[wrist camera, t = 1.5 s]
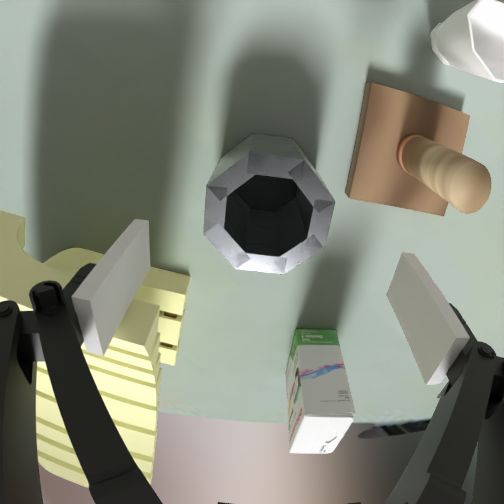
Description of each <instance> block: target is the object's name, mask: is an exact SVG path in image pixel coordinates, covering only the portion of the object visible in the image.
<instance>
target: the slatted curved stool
mask: <svg viewBox="0 0 504 504" xmlns="http://www.w3.org/2000/svg"><path fill="white" fill-rule="evenodd" d="M24 245H25V217H22V216H18V215H15V214H11V213H7V212H4V211H0V302H2V301H6V300H12V301H15V302H16V303H17V304H18V306H19V309H20V311H34V310H33V307H32V304H31V301H30V297H29V292H30V290H31V289H32V287H33V286H35V285H36V284H38V283H40V282H43V281H48V280H51V281H56V282H58V283H60V285H61V286H62V290H63V289H64V287H65V286H66V285H67V284H68V282H70V280H71V279H72V278H73V276H75V274H76V273H77V271H78V270H79V269H80V268H81V267H83V266H85V265H86V264H88V263H94V264H97V263H98V262H99V261H100V260H101V258H102V257H103V256H104V255H105V254H101V253H97V252H94V251H90V250H86V249H83V248H70V249H66V250H64V251H61V252H59V253H57V254H56V255H54V256H52V257H51V258H50V259H48V260H47V261H46V262H44V263H43V264H42V263H41V262H39V261H37V260H36V259H34V258H33V257H31V256H30V255H29V254H27V253H26V252H25V251H24V250H23V247H24ZM189 282H190V276H187V275H183V274H179V273H175V272H171V271H167V270H163V269H159V268H155V267H151V268H150V269H149V271H148V273H147V275H146V276H145V278H144V280H143V282H142V284H141V285H140V287H139V289H138V291H137V293H136V295H135V296H134V298H133V300H132V302H131V304H130V306H129V308H128V310H127V311H126V313H125V315H124V317H123V319H122V321H121V323H120V325H119V327H118V329H117V331H116V333H115V335H114V337H113V338H112V340H111V342H110V344H109V346H108V348H107V350H106V353H105V355H104V356H100V355H96V354H92V353H88V352H87V351H86V348H85V345H84V342H83V344H82V346H81V349H82V352H83V354H84V357H85V359H86V362H87V364H88V367H89V369H90V372H91V374H92V376H93V379H94V381H95V383H96V386H97V388H98V390H99V393H100V395H101V397H102V399H103V401H104V403H105V406H106V408H107V410H108V412H109V414H110V416H111V418H112V420H113V422H114V424H115V426H116V428H117V430H118V432H119V434H120V436H121V437H122V439H123V441H124V443H125V445H126V447H127V449H128V450H129V452H130V454H131V456H132V457H133V459H134V461H135V463H136V464H137V466H138V467H139V468H140V470H141V471H142V473H143V474H144V476H145V477H146V479H147V481H148V482H149V484H150V485H151V480H152V475H153V469H152V468H153V463H154V450H155V445H156V439H157V438H156V437H157V426H156V425H157V421H158V406H159V402H158V399H159V393H160V381H161V369H162V368H160V362H161V363H165V364H169V365H173V366H175V363H176V360H177V354H178V348H179V341H180V340H179V338H180V335H181V329H182V323H183V317H184V308H185V305H186V299H187V293H188V288H189ZM36 437H37V454H38V461H39V463H40V464H41V465H42V466H43V467H44V468H45V469H46V470H48V471H49V472H51V473H53V474H55V475H57V476H60V477H62V478H65V479H67V480H70V481H72V482H74V483H77V484H79V485H82V486H85V487H87V488H89V483H88V481H87V478H86V476H85V474H84V472H83V470H82V467H81V465H80V463H79V460H78V458H77V456H76V453H75V451H74V448H73V446H72V444H71V441H70V438H69V436H68V433H67V430H66V428H65V425H64V422H63V419H62V417H61V414H60V411H59V408H58V405H57V402H56V398H55V395H54V392H53V389H52V385H51V382H50V378H49V375H48V371H47V367H46V363H45V362H37V378H36Z"/></svg>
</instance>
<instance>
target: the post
mask: <svg viewBox="0 0 504 504" xmlns="http://www.w3.org/2000/svg"><path fill="white" fill-rule="evenodd" d="M469 118H470V115H467V114H465V113H463V112H460V111H458V110H455V109H453V108H450V107H447V106H445V105H442V104H439V103H437V102H434V101H431V100H428V99H425V98H422V97H419V96H416V95H413V94H410V93H407V92H404V91H401V90H397V89H394V88H390V87H387V86H383V85H380V84H376V83H372V82H366V86H365V92H364V98H363V104H362V110H361V115H360V121H359V127H358V132H357V137H356V142H355V148H354V153H353V158H352V162H351V167H350V172H349V177H348V181H347V186H346V190H345V193H346V195H347V196H348V198H350V199H356V200H362V201H367V202H373V203H379V204H384V205H390V206H395V207H400V208H406V209H411V210H416V211H421V212H426V213H430V214H435V215H440V216H444V214H445V211H446V208H447V205H448V203H450V204H451V205H452V206H454V207H455V208H456V209H457V210H459V211H460V212H462V213H466V214H470V213H474V212H476V211H478V210H479V209H480V208H482V207H483V205H484V204H485V203H486V201H487V199H488V197H489V195H490V191H491V177H490V174H489V172H488V170H487V168H486V167H485V166H484V165H482V164H481V163H479V162H477V161H475V160H473V159H471V158H469V157H467V156H465V155H463V154H462V151H463V146H464V142H465V138H466V133H467V128H468V123H469Z"/></svg>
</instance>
